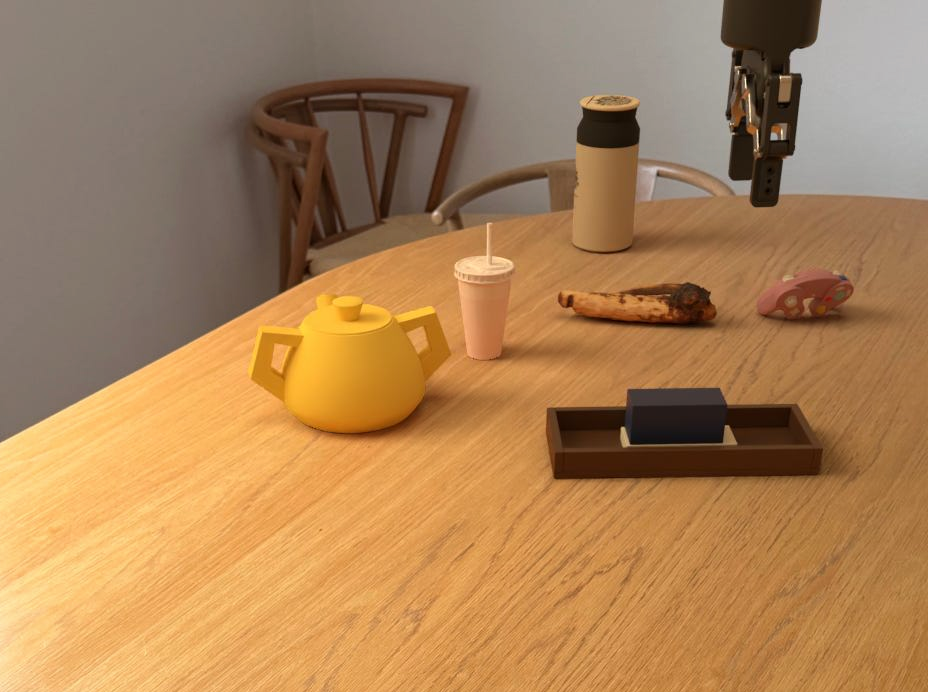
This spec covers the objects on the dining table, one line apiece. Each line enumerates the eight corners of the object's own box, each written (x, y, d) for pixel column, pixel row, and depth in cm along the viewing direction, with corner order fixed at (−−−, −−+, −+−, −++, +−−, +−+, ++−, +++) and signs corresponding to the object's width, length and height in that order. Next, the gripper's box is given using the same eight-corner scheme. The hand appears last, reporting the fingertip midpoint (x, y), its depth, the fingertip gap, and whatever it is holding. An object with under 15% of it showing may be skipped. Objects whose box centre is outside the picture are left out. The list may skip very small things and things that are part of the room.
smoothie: (496, 368, 133) (497, 235, 125) (443, 358, 135) (441, 226, 127) (523, 348, 137) (527, 218, 129) (472, 338, 140) (472, 210, 132)
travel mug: (639, 239, 169) (649, 96, 159) (621, 256, 163) (631, 109, 153) (583, 233, 172) (590, 92, 162) (563, 249, 166) (569, 104, 156)
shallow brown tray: (793, 428, 120) (797, 403, 118) (819, 474, 112) (823, 448, 110) (545, 432, 120) (546, 407, 118) (553, 478, 112) (554, 452, 110)
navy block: (727, 436, 117) (733, 386, 114) (736, 456, 114) (742, 404, 111) (620, 438, 117) (623, 388, 114) (625, 457, 114) (629, 406, 111)
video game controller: (763, 335, 144) (784, 290, 138) (751, 306, 146) (770, 260, 140) (842, 327, 146) (865, 282, 140) (828, 298, 148) (851, 253, 142)
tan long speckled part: (715, 309, 148) (562, 298, 150) (720, 269, 145) (565, 258, 148) (714, 335, 140) (554, 322, 143) (720, 293, 137) (556, 281, 140)
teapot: (418, 355, 136) (415, 253, 130) (472, 422, 121) (472, 311, 115) (234, 379, 131) (222, 275, 125) (268, 452, 117) (256, 338, 110)
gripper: (849, -12, 92) (817, 214, 101) (799, -35, 103) (775, 170, 112) (746, -9, 92) (724, 217, 101) (708, -32, 103) (692, 172, 112)
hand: (751, 192), depth 107 cm, fingers open, 8 cm apart
